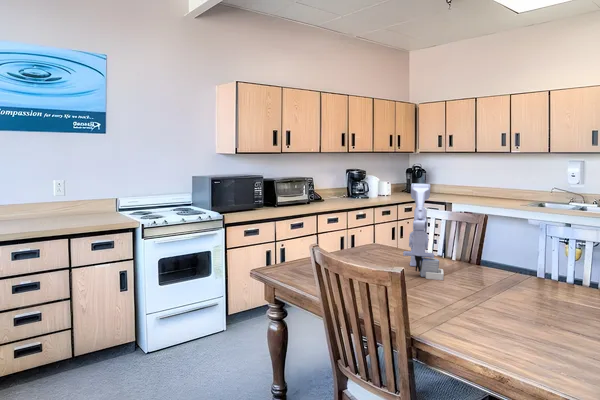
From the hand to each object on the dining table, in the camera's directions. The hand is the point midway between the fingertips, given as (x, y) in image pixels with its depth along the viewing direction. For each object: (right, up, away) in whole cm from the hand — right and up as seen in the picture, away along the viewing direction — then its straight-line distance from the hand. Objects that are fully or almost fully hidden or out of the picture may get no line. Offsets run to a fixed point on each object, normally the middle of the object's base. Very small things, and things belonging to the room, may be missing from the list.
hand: (417, 271), depth 206 cm
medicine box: (+5, -3, -1) cm, 6 cm away
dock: (+7, -3, -2) cm, 8 cm away
